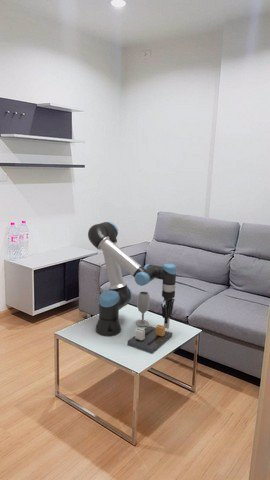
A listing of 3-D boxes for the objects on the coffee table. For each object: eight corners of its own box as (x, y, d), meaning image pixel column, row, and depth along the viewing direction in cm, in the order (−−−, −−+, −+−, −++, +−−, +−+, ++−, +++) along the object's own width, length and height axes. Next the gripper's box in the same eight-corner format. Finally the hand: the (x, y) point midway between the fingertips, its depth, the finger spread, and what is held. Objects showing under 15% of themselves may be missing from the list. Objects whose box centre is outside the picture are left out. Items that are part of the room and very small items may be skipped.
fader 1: (135, 338, 205) (135, 329, 204) (138, 336, 207) (138, 327, 206) (141, 340, 203) (142, 331, 201) (144, 338, 205) (145, 329, 204)
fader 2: (155, 334, 210) (156, 326, 209) (158, 332, 213) (158, 324, 212) (162, 336, 208) (162, 328, 207) (164, 334, 211) (165, 326, 209)
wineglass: (148, 327, 225) (149, 295, 220) (134, 326, 226) (135, 294, 222) (150, 322, 233) (151, 291, 229) (137, 320, 235) (138, 289, 230)
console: (127, 344, 203) (127, 340, 202) (148, 329, 223) (149, 325, 222) (152, 353, 195) (152, 349, 194) (172, 336, 215) (172, 332, 214)
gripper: (169, 294, 204) (167, 333, 209) (179, 288, 215) (177, 325, 220) (157, 291, 208) (155, 330, 213) (168, 285, 219) (166, 322, 224)
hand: (166, 327), depth 216 cm, fingers closed
